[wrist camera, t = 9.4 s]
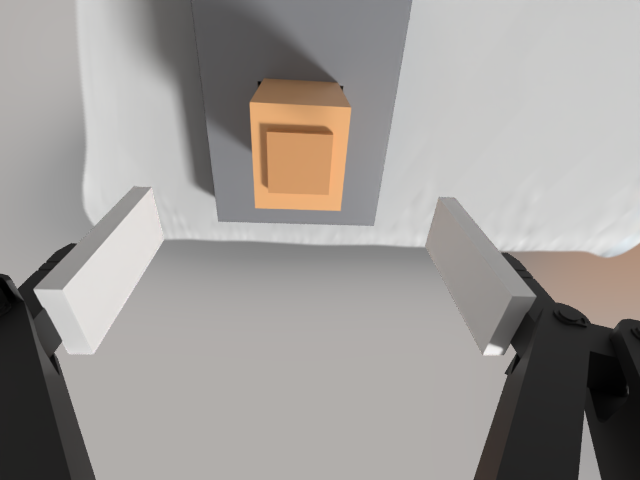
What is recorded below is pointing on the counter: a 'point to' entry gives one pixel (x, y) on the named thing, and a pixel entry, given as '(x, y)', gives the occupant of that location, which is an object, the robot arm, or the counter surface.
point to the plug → (299, 144)
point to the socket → (307, 65)
